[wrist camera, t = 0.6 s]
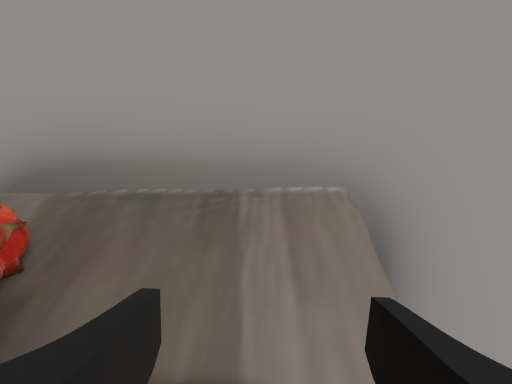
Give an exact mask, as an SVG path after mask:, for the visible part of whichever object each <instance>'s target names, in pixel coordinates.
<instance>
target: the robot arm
mask: <svg viewBox="0 0 512 384" xmlns="http://www.w3.org/2000/svg"><path fill="white" fill-rule="evenodd" d="M160 345H161V311H160V289H146V288H142V289H140V290H138V291H136V292H135V293H133V294H132V295H130V296H129V297H127V298H126V299H124V300H123V301H121V302H120V303H118V304H117V305H115V306H114V307H112V308H110V309H109V310H107V311H106V312H104V313H103V314H101V315H100V316H98V317H96V318H95V319H93V320H91V321H90V322H88V323H86V324H85V325H83V326H81V327H79V328H78V329H76V330H74V331H73V332H71V333H69V334H67V335H65V336H63V337H61V338H59V339H57V340H55V341H53V342H51V343H49V344H47V345H45V346H43V347H41V348H38V349H36V350H34V351H31V352H29V353H27V354H24V355H22V356H19V357H17V358H14V359H12V360H9V361H7V362H4V363H2V364H0V384H147V383H148V381H149V378H150V376H151V374H152V371H153V368H154V365H155V362H156V359H157V355H158V352H159V348H160ZM365 352H366V356H367V359H368V363H369V366H370V369H371V373H372V376H373V379H374V381H375V383H376V384H512V369H510V368H508V367H506V366H504V365H502V364H500V363H498V362H496V361H494V360H492V359H490V358H488V357H486V356H484V355H482V354H480V353H478V352H476V351H474V350H473V349H471V348H469V347H468V346H466V345H464V344H462V343H461V342H459V341H457V340H456V339H454V338H452V337H450V336H449V335H447V334H446V333H444V332H442V331H441V330H439V329H438V328H436V327H434V326H433V325H432V324H430V323H429V322H427V321H425V320H424V319H422V318H421V317H419V316H418V315H416V314H415V313H413V312H412V311H410V310H409V309H407V308H406V307H404V306H403V305H401V304H399V303H398V302H396V301H395V300H393V299H391V298H382V297H371V305H370V312H369V320H368V328H367V336H366V344H365Z"/></svg>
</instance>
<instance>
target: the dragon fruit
mask: <svg viewBox="0 0 512 384" xmlns="http://www.w3.org/2000/svg"><path fill="white" fill-rule="evenodd" d="M14 212H15V211H14V210H13V209H11V208H10V207H8V206H7V205H4V204H1V203H0V279H2V277H4V276H10V275H13V274H15V273H16V272H18V271H19V270H21V269H22V270H21V272H22V271H23V270H24V269H25V265H24V264H23V263H22V262H21V263H19V259H20V258H21V257H22V255H23V254H24V252H25V250H26V248H27V246H28V245H29V242H30V234H29V231H28V227H27V222H22V221H21V220H19V219H18V218H17V216H16V215H15V213H14ZM21 272H20V273H21Z"/></svg>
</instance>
